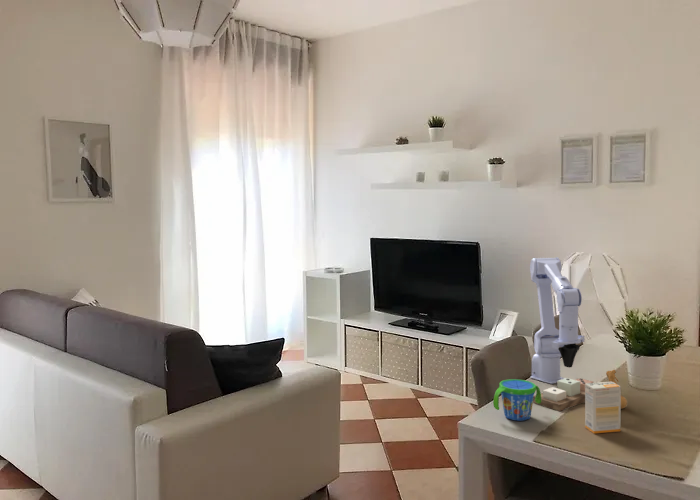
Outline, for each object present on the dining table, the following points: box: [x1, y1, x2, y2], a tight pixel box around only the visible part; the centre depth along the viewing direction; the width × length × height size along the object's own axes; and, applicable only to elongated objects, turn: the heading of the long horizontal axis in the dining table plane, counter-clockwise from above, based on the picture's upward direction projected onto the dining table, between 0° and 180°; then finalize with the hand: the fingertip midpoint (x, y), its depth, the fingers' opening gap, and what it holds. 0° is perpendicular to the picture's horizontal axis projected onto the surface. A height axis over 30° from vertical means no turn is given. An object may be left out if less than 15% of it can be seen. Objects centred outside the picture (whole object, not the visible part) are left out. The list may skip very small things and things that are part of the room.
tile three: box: [575, 377, 595, 392], centre depth 193 cm, size 5×5×4 cm
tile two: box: [556, 377, 580, 397], centre depth 189 cm, size 5×5×4 cm
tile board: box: [533, 391, 585, 412], centre depth 189 cm, size 24×10×2 cm, turn 125°
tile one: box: [542, 386, 566, 402], centre depth 185 cm, size 5×5×4 cm
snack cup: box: [492, 378, 542, 422], centre depth 174 cm, size 16×10×10 cm
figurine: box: [606, 369, 628, 410], centre depth 179 cm, size 8×6×12 cm
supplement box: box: [584, 381, 622, 435], centre depth 163 cm, size 8×5×13 cm, turn 97°
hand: (568, 366), depth 189 cm, fingers closed
